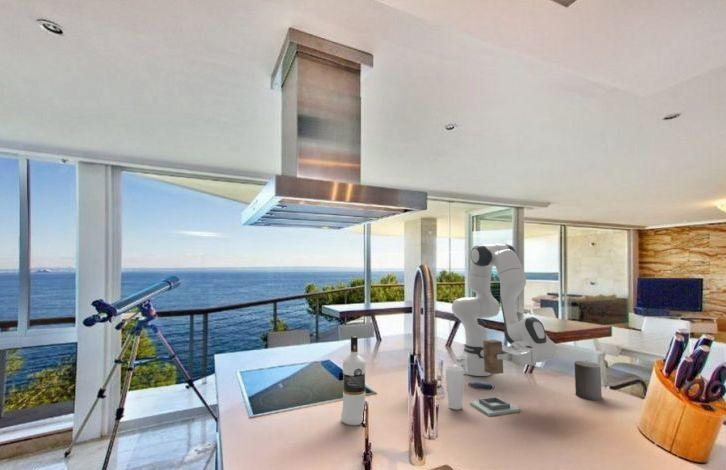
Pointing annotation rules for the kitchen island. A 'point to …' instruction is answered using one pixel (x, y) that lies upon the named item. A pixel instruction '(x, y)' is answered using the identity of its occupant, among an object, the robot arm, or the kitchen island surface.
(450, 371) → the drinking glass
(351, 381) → the vodka
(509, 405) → the grey flat square tray
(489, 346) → the walnut pillar
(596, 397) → the pillar candle
